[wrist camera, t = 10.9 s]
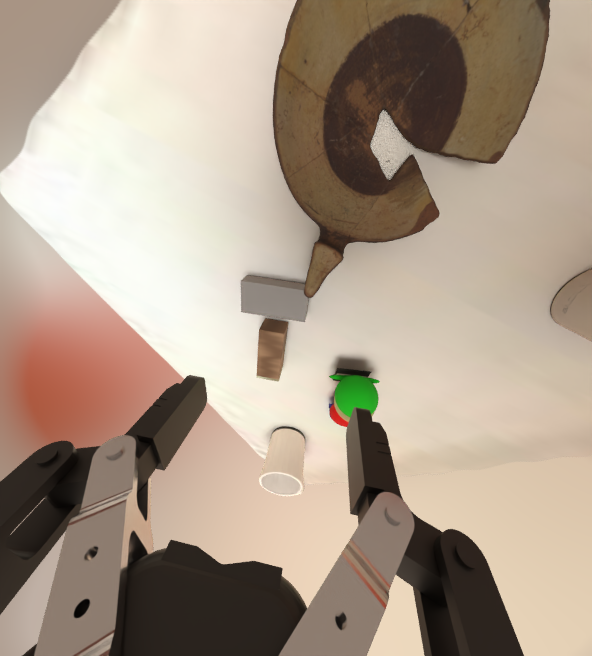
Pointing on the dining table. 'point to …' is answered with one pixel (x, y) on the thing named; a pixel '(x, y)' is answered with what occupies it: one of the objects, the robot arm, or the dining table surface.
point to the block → (271, 349)
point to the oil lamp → (396, 105)
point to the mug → (284, 463)
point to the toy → (352, 394)
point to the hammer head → (273, 298)
